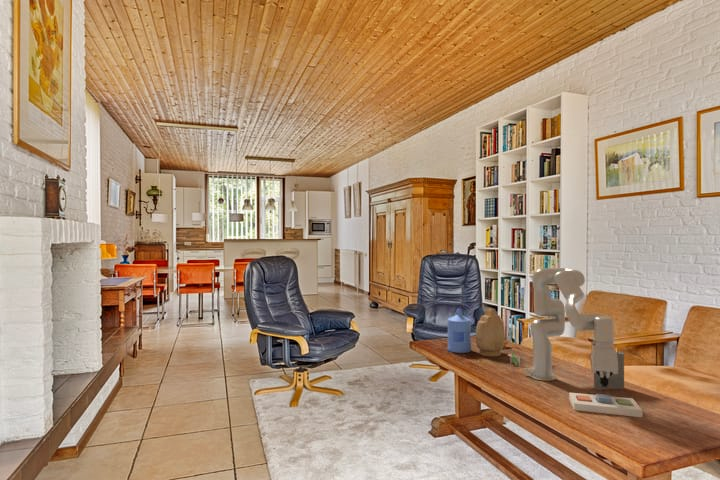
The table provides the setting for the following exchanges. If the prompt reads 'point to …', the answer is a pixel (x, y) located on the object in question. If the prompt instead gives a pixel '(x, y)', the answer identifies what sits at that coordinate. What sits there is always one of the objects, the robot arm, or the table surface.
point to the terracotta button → (583, 398)
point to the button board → (605, 406)
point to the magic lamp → (506, 341)
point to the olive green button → (624, 402)
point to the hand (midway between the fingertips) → (604, 386)
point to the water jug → (459, 333)
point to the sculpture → (490, 333)
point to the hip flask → (612, 376)
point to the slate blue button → (603, 398)
